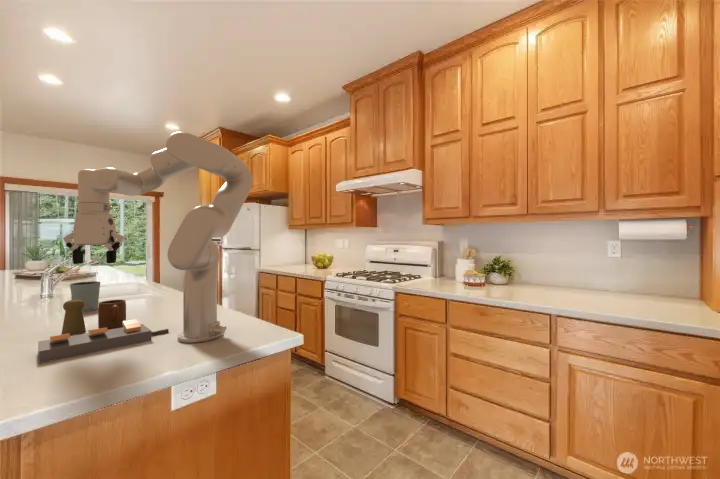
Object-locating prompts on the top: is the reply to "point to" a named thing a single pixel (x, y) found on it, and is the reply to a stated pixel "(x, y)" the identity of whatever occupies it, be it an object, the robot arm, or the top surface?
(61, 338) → the rocker
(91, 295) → the grey cup
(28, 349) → the top surface
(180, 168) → the robot arm
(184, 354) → the top surface
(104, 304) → the mug
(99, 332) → the middle rocker
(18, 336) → the top surface
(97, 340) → the power strip
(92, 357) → the top surface
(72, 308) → the pepper mill
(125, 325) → the block
